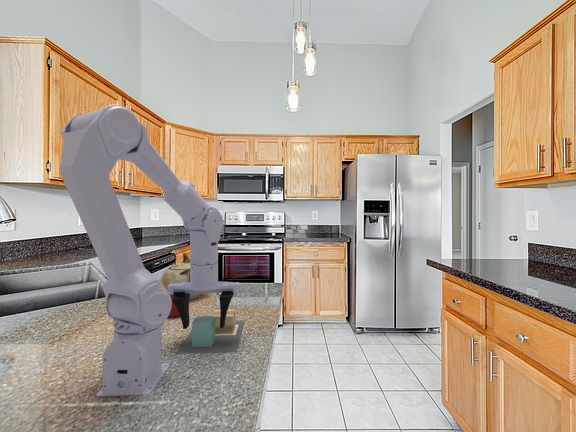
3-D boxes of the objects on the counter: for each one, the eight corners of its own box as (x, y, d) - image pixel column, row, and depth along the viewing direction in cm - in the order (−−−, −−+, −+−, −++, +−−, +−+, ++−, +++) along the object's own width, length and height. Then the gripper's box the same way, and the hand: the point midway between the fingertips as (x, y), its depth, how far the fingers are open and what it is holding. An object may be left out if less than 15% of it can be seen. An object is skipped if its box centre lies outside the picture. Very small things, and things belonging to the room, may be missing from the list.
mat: (236, 354, 59) (236, 352, 59) (174, 356, 59) (174, 353, 59) (244, 322, 77) (244, 320, 77) (197, 323, 77) (197, 321, 77)
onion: (177, 322, 78) (178, 291, 78) (158, 320, 79) (158, 290, 79) (189, 314, 84) (189, 286, 84) (170, 313, 85) (171, 285, 85)
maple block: (232, 333, 69) (232, 316, 69) (210, 334, 69) (210, 316, 69) (235, 325, 74) (235, 309, 74) (214, 326, 74) (214, 309, 74)
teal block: (211, 346, 62) (211, 322, 62) (192, 346, 62) (192, 322, 62) (215, 338, 66) (215, 315, 66) (196, 338, 66) (196, 316, 66)
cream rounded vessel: (158, 293, 107) (158, 251, 107) (200, 288, 114) (201, 249, 114) (165, 308, 90) (165, 258, 90) (215, 301, 97) (215, 255, 97)
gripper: (240, 260, 68) (240, 319, 69) (175, 260, 68) (175, 320, 68) (236, 265, 61) (236, 331, 61) (164, 266, 61) (164, 333, 61)
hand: (204, 326), depth 64 cm, fingers open, 7 cm apart
